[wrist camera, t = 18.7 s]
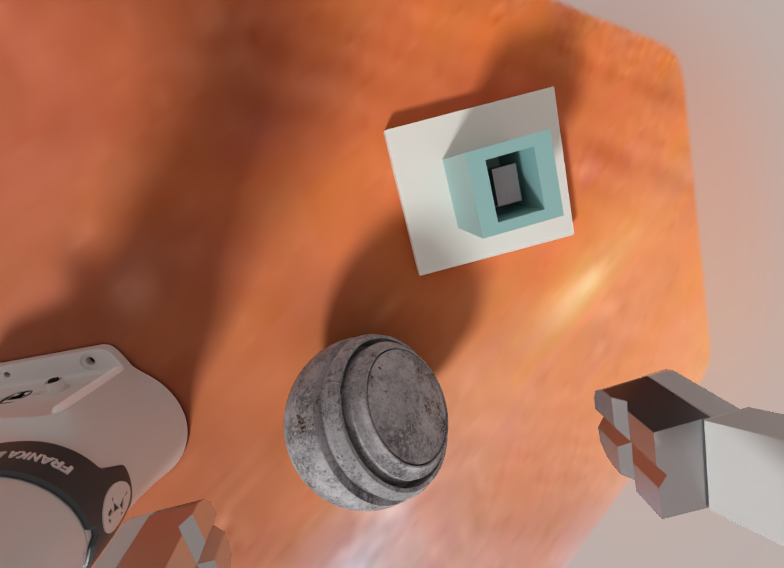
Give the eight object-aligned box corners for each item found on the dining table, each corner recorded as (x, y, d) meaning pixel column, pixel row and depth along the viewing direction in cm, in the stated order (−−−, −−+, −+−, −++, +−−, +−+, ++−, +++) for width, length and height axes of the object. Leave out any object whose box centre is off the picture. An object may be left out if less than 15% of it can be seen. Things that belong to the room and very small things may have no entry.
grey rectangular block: (477, 203, 39) (498, 206, 33) (471, 171, 38) (491, 169, 32) (497, 197, 39) (521, 200, 33) (491, 166, 38) (515, 163, 32)
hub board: (417, 272, 42) (420, 275, 40) (383, 132, 38) (384, 130, 37) (566, 232, 42) (574, 234, 40) (546, 89, 38) (553, 86, 37)
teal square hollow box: (458, 228, 39) (483, 238, 31) (442, 159, 38) (464, 152, 30) (523, 209, 39) (563, 215, 32) (510, 140, 38) (549, 128, 30)
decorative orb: (457, 385, 45) (506, 481, 31) (359, 463, 46) (360, 590, 32) (371, 288, 42) (379, 344, 27) (267, 375, 43) (222, 473, 28)
